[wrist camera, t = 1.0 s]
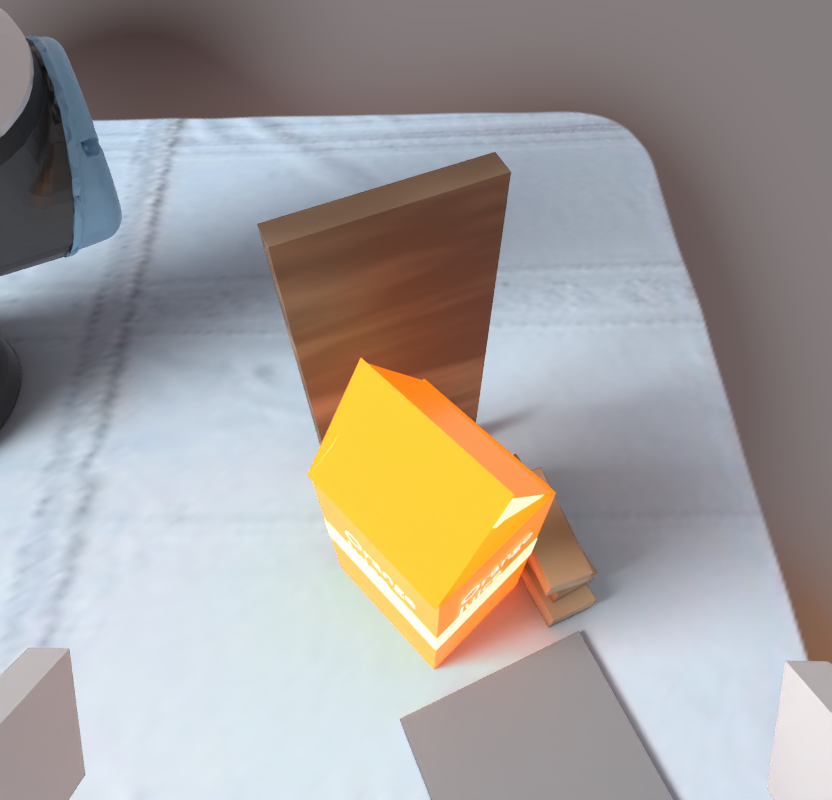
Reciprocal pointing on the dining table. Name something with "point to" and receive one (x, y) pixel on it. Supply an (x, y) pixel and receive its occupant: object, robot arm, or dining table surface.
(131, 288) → the dining table surface
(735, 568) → the dining table surface
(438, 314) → the walnut rack
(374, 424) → the orange juice
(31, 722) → the robot arm
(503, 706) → the grey mat
